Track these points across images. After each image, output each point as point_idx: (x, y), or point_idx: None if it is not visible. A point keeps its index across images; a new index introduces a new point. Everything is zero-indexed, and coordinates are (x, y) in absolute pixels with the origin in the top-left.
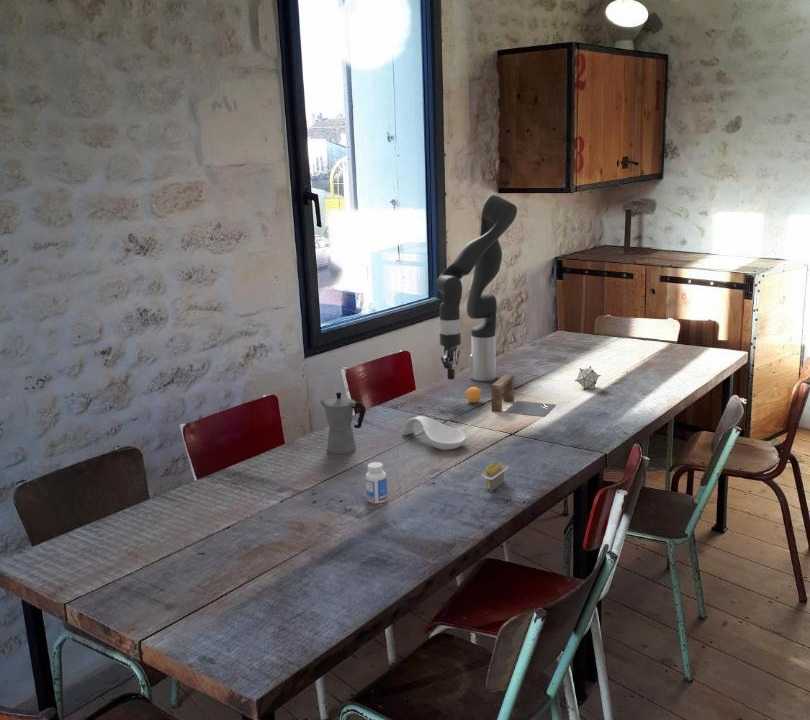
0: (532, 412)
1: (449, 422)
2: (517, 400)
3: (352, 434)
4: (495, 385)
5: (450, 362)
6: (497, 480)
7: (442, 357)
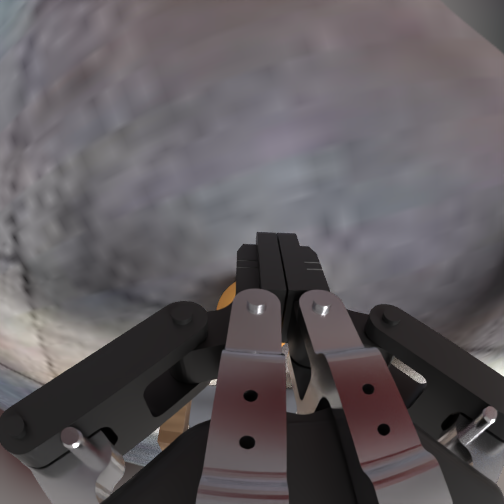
0: (205, 420)
1: (14, 272)
2: None
3: None
4: (160, 446)
5: (155, 429)
6: None
7: (10, 449)
